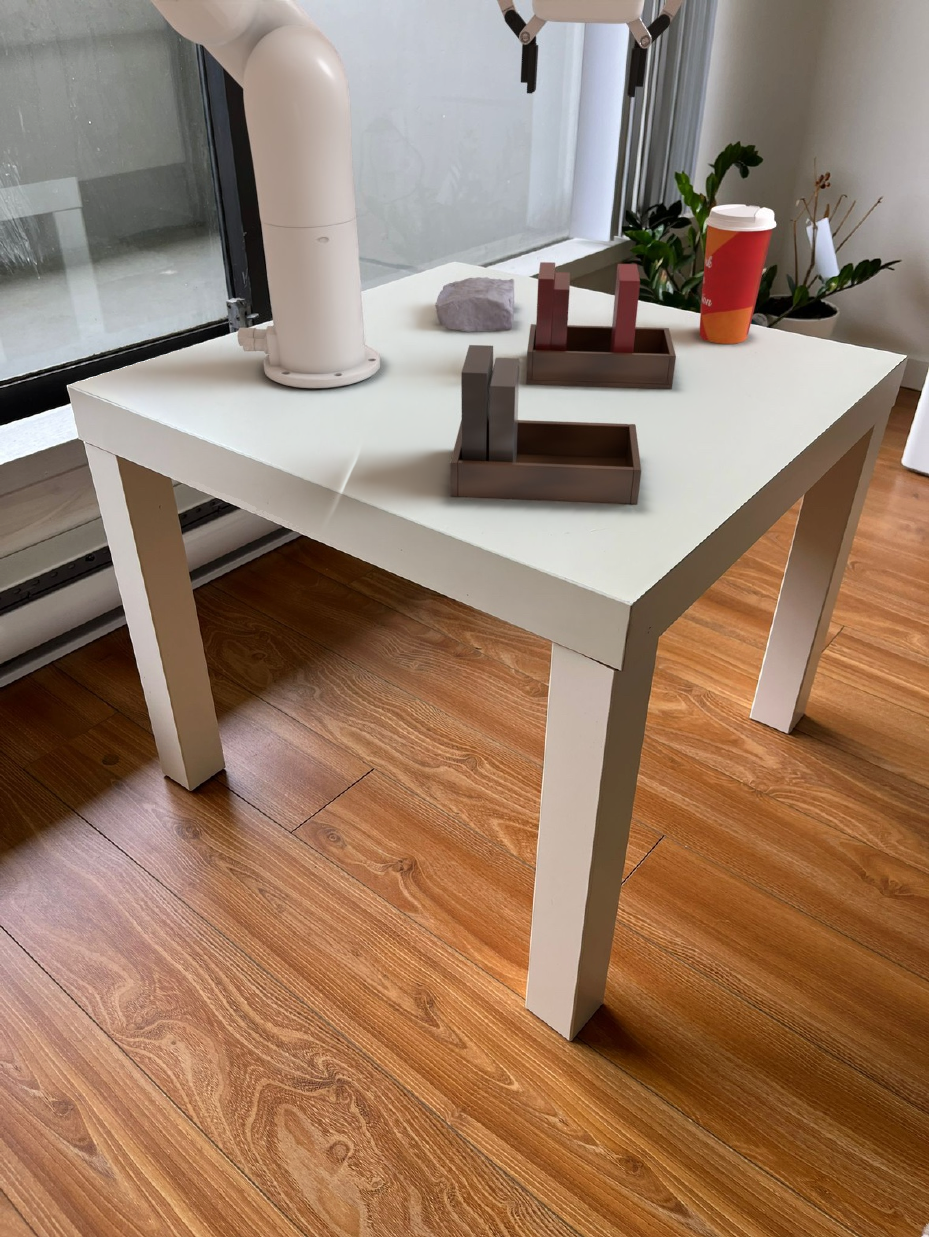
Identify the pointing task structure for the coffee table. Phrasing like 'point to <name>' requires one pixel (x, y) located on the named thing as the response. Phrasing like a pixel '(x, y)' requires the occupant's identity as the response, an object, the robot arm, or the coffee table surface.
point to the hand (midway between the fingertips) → (580, 94)
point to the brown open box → (590, 346)
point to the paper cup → (733, 270)
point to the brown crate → (534, 446)
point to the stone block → (477, 305)
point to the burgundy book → (625, 308)
